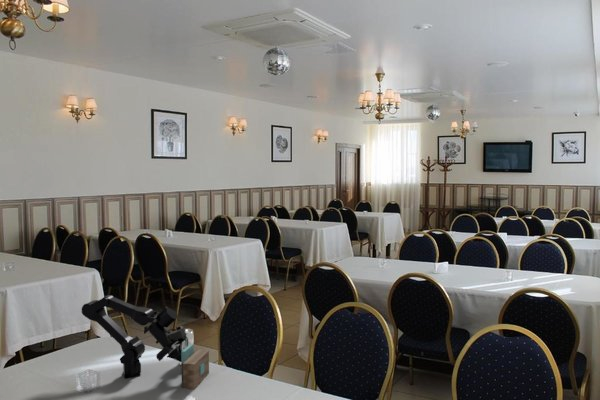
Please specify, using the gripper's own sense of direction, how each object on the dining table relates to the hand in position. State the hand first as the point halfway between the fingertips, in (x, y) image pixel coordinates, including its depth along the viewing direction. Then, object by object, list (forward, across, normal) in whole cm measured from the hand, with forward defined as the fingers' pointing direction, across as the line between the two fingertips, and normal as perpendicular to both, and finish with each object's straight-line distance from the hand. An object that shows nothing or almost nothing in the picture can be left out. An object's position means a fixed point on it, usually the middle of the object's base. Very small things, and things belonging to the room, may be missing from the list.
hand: (185, 362), depth 216 cm
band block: (+8, 0, +2) cm, 8 cm away
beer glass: (+1, +16, +10) cm, 19 cm away
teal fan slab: (+7, 0, +2) cm, 8 cm away
